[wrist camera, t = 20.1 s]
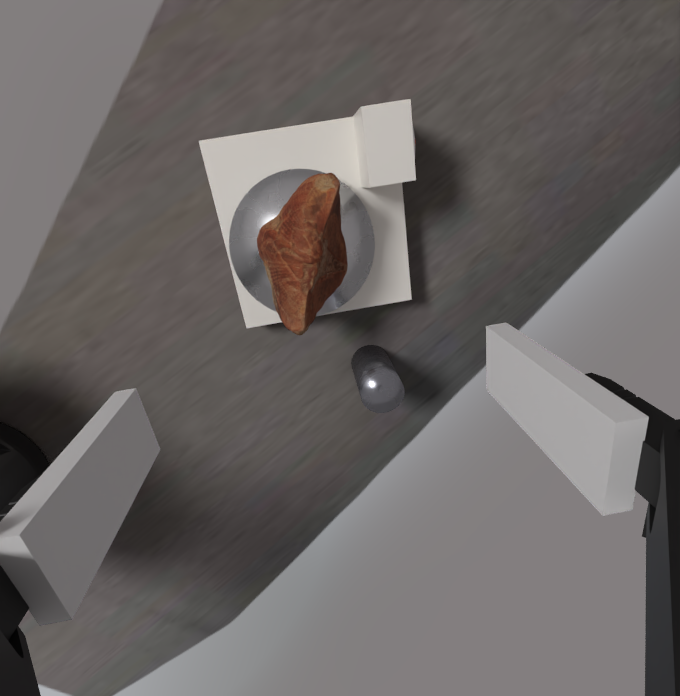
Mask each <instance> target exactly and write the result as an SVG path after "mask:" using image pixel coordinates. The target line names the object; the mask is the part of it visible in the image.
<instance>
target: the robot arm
mask: <svg viewBox="0 0 680 696" xmlns="http://www.w3.org/2000/svg"><path fill="white" fill-rule="evenodd" d="M486 368H487V391H488V392H489V393H490V394H491V395H492V396H493V397H494V399H495V400H496V401H497V402H498V403H499V404H500V405H501V406H502V407H503V408H504V409H505V410H506V412H507V413H508V414H509V415H510V416H511V417H512V418H513V419H514V420H515V421H516V422H517V423H518V425H519V426H520V427H521V428H522V429H523V430H524V431H525V432H526V433H527V434H528V435H529V436H530V437H531V439H532V440H533V441H534V442H535V443H536V444H537V445H538V446H539V447H540V448H541V449H542V450H543V452H544V453H545V454H546V455H547V456H548V457H549V458H550V459H551V460H552V461H553V462H554V463H555V464H556V466H557V467H558V468H559V469H560V470H561V471H562V472H563V473H564V474H565V475H566V476H567V477H568V479H569V480H570V481H571V482H572V483H573V484H574V485H575V486H576V487H577V488H578V489H579V491H580V492H581V493H582V494H583V495H584V496H585V497H586V498H587V499H588V500H589V501H590V502H591V504H593V506H594V507H595V508H596V509H597V510H598V511H599V512H600V513H601V514H602V515H603V516H604V515H610V514H615V513H619V512H625V511H630V510H632V509H633V503H634V498H635V492H636V491H637V492H638V493H639V494H640V495H642V496H643V497H644V498H645V499H646V500H647V501H648V502H649V504H648V509H647V514H646V519H645V524H644V529H643V534H642V536H643V537H646V653H645V654H646V655H645V658H646V659H645V662H646V663H645V666H646V667H645V696H680V419H679V420H675V419H673V418H672V417H670V416H669V415H667V414H665V413H664V412H662V411H661V410H659V409H657V408H656V407H654V406H652V405H651V404H649V403H648V402H646V401H644V400H643V399H641V398H640V397H636V395H635V394H633V393H632V392H630V391H628V390H624V388H623V387H622V386H620V385H619V384H617V383H615V382H614V381H612V380H611V379H608V378H605V377H602V376H599V375H596V374H593V373H588V374H583V373H582V372H580V371H579V370H577V369H576V368H574V367H573V366H571V365H569V364H568V363H566V362H565V361H563V360H562V359H560V358H559V357H557V356H556V355H554V354H553V353H551V352H550V351H548V350H546V349H545V348H543V347H542V346H541V345H539V344H538V343H536V342H535V341H533V340H531V339H530V338H529V337H527V336H526V335H524V334H522V333H521V332H519V331H518V330H516V329H515V328H513V327H512V326H510V325H509V324H507V323H501V324H495V325H490V326H486ZM159 451H160V447H159V445H158V442H157V440H156V437H155V435H154V432H153V430H152V427H151V425H150V422H149V419H148V417H147V414H146V412H145V409H144V407H143V404H142V402H141V399H140V397H139V394H138V392H137V389H136V388H134V389H128V390H123V391H117V392H114V394H113V395H112V396H111V397H110V398H109V399H108V400H107V402H106V403H105V404H104V405H103V406H102V407H101V408H100V409H99V411H98V412H97V413H96V414H95V415H94V416H93V417H92V418H91V420H90V421H89V422H88V423H87V424H86V425H85V426H84V428H83V429H82V430H81V431H80V432H79V433H78V434H77V435H76V437H75V438H74V439H73V440H72V441H71V442H70V443H69V445H68V446H67V447H66V448H65V449H64V450H63V451H62V452H61V454H60V455H59V456H58V457H57V458H56V459H55V460H54V462H53V463H52V464H51V465H50V466H48V463H47V461H46V459H45V457H44V455H43V454H42V452H41V451H40V450H39V449H38V447H37V446H36V445H35V444H34V443H33V442H32V441H31V440H29V439H28V438H27V437H26V436H24V435H23V434H21V433H20V432H18V431H16V430H15V429H13V428H11V427H9V426H6V425H4V424H2V423H0V696H41V695H40V692H39V688H38V684H37V680H36V676H35V672H34V668H33V665H32V661H31V657H30V653H29V649H28V646H27V642H26V638H25V635H24V634H23V632H22V631H21V629H20V628H19V627H18V625H19V623H20V622H21V620H22V619H23V617H24V616H25V614H26V612H27V611H28V609H29V611H30V612H31V614H32V615H33V617H34V618H35V620H36V621H37V623H38V624H39V626H42V625H47V624H52V623H57V622H62V621H67V620H72V619H73V617H74V615H75V613H76V611H77V609H78V608H79V606H80V604H81V602H82V600H83V598H84V596H85V594H86V592H87V590H88V588H89V586H90V584H91V582H92V581H93V579H94V577H95V575H96V573H97V571H98V569H99V567H100V565H101V563H102V561H103V559H104V557H105V555H106V554H107V552H108V550H109V548H110V546H111V544H112V542H113V540H114V538H115V536H116V534H117V532H118V530H119V528H120V527H121V525H122V523H123V521H124V519H125V517H126V515H127V513H128V511H129V509H130V507H131V505H132V503H133V501H134V500H135V498H136V496H137V494H138V492H139V490H140V488H141V486H142V484H143V482H144V480H145V478H146V476H147V474H148V473H149V471H150V469H151V467H152V465H153V463H154V461H155V459H156V457H157V455H158V453H159Z"/></svg>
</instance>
